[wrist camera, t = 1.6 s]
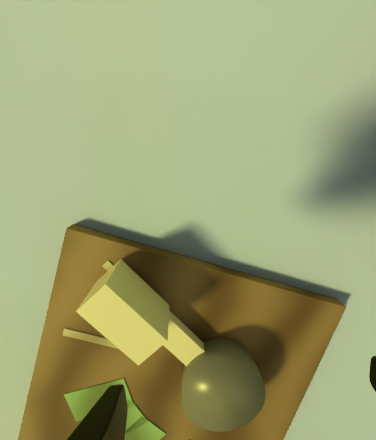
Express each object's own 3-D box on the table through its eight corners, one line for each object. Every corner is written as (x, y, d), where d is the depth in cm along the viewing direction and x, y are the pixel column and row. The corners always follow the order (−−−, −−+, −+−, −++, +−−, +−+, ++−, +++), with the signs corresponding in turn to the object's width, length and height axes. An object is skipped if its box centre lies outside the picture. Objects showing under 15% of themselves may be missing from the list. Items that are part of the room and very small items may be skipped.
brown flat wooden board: (336, 299, 21) (346, 307, 20) (251, 482, 25) (255, 500, 24) (73, 224, 19) (66, 228, 18) (23, 438, 23) (14, 454, 22)
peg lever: (270, 371, 21) (292, 420, 17) (215, 414, 21) (223, 472, 17) (139, 241, 18) (128, 263, 14) (80, 295, 19) (53, 331, 15)
